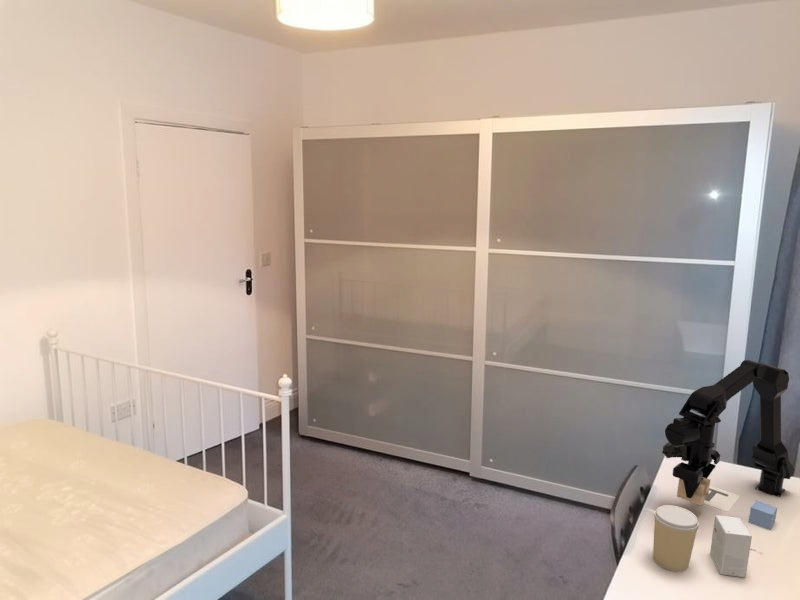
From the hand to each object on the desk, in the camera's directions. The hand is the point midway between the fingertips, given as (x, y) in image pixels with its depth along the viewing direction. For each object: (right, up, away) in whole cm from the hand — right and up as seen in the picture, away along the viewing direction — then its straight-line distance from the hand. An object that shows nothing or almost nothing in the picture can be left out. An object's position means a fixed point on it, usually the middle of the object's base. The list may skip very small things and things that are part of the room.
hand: (693, 493), depth 162 cm
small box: (-2, -11, -20) cm, 23 cm away
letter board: (+10, -4, +10) cm, 15 cm away
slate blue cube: (+17, -7, -2) cm, 19 cm away
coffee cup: (-15, -10, -19) cm, 26 cm away
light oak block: (0, -1, 0) cm, 1 cm away
